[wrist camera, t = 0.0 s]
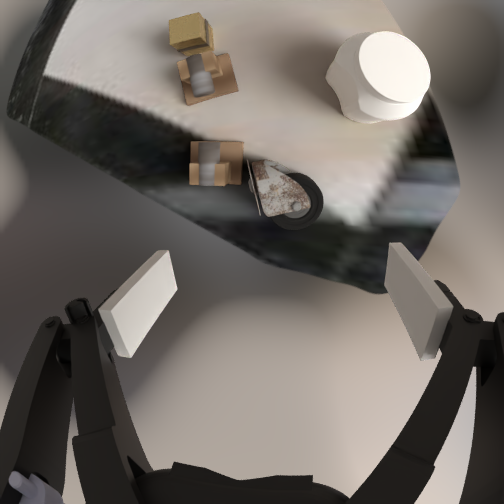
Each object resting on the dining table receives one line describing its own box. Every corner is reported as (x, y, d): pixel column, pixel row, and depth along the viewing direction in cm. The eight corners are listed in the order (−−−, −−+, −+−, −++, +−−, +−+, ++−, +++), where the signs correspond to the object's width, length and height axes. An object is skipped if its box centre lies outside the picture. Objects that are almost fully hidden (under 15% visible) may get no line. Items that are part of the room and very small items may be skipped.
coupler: (185, 33, 33) (168, 20, 27) (212, 27, 32) (199, 11, 26) (186, 56, 35) (169, 45, 28) (214, 51, 34) (201, 37, 28)
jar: (403, 113, 34) (452, 106, 20) (350, 131, 37) (381, 128, 23) (371, 47, 30) (405, 13, 17) (317, 64, 33) (329, 28, 19)
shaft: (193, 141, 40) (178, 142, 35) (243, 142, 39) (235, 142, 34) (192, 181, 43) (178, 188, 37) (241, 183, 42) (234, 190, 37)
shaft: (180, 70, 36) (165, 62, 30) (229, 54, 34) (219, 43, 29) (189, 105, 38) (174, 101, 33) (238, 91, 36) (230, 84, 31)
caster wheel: (318, 210, 45) (259, 223, 45) (308, 144, 39) (243, 158, 39) (330, 230, 39) (263, 245, 40) (321, 155, 33) (244, 171, 34)
